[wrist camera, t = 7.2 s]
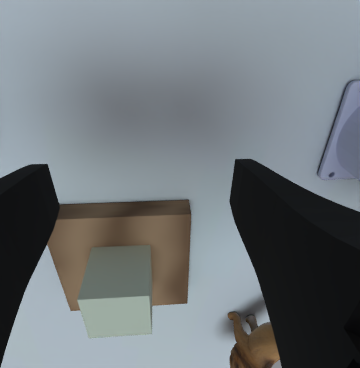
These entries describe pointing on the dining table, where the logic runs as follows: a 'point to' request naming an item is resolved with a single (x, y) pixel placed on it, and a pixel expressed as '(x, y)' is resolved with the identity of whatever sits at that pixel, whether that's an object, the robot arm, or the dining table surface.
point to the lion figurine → (253, 344)
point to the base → (125, 243)
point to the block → (117, 292)
